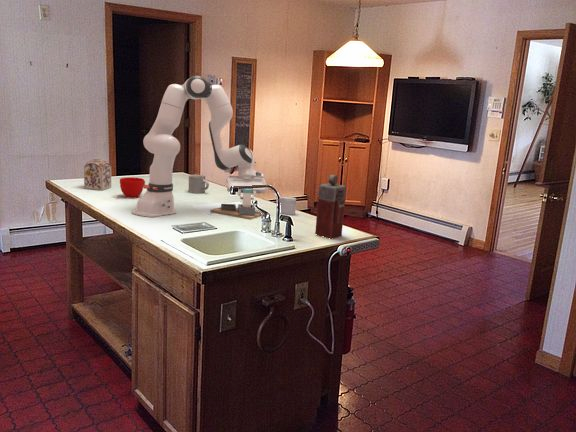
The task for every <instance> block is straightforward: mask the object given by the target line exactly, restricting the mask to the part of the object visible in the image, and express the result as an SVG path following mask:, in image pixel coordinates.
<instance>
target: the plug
mask: <svg viewBox="0 0 576 432" xmlns="http://www.w3.org/2000/svg"><path fill="white" fill-rule="evenodd" d="M251 191H252V189H243V193H242V195H243V199H242V203H241V204H242V207H251V205H252V200H251V195H252V193H251Z"/></svg>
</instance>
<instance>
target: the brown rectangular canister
mask: <svg viewBox="0 0 576 432" xmlns="http://www.w3.org/2000/svg"><path fill="white" fill-rule="evenodd" d="M338 177H339V176H337V175H335V174H330V175H329V176H328V183H324V184H323V183H322V184H320V185H319V186H318V195H317V209H316V221H315V231H314V232H315V233H314V235H315V234H317V235H320V236H319V237H321V236H324V237H323V238H325V237H326V239H329V238H330V240H332V238H333V239H336V238H339V237H342V235H343V226H344V216H345V215H344V213H345V204H346V203H345V201H346V193H347V192H346V191H347V186H345V185H343V184H337V183H338V181H339V178H338ZM317 235H316V236H317Z"/></svg>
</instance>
